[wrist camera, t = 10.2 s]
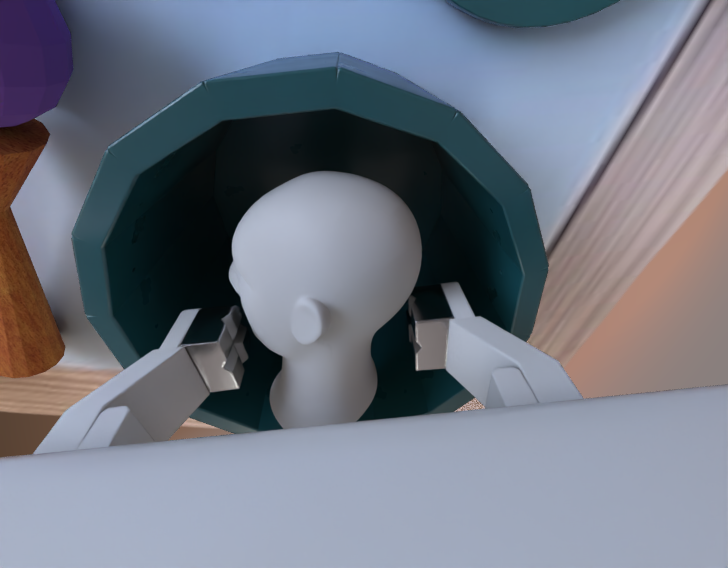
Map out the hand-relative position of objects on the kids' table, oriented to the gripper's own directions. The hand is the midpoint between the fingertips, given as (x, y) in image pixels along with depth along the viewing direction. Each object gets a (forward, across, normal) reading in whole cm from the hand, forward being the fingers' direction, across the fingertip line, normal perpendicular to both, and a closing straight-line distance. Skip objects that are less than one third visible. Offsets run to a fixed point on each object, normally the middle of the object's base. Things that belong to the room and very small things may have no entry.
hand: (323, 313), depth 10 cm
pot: (+9, 0, 0) cm, 9 cm away
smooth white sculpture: (+2, 0, 0) cm, 2 cm away
